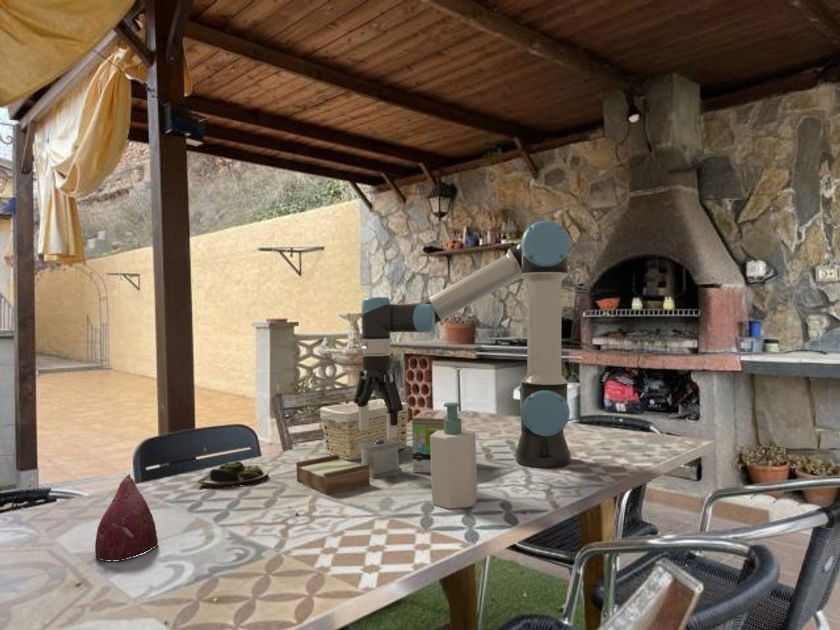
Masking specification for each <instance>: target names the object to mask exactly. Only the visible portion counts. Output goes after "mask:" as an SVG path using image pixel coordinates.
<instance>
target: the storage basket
mask: <svg viewBox="0 0 840 630" xmlns="http://www.w3.org/2000/svg"><path fill="white" fill-rule="evenodd" d="M401 403H402V406H403V410H402V411H399V412H398V419H397V420H398V424H397V437H395V438H389V439H391V440H395V441H399V442H401V446H400V447H398V450H401V449H406V448H407V440H408V439H407V438H408V437H407V435H408V434H407V432H408V425H407V424H408V416H409V415H408V414H409V413H408V411H409V405H408V403H407V402H403V401H401ZM368 404H369V405H368ZM368 404H367V406H369V430H364V431H359V407H358V405H357V403H354V402H352V403H351V402H350V403H343V404H336V405H328V406H322V407H319V408H320V409H319V413H320V419H321V423H322V427H323V429H322V431H323V437H324V442H325V451H326V454H328V455H329V456H331V455H339V459H342V460H345V459H346V460H345V461H352V460H353V461H355V459H356V460H360V459H361V448H358V443H362V442H368V441H373V440H379V439H385V438H387V411H388V409H387V407H386V404H385V402H384V400H383V398H377V399H374V400H373V399H371V400H369V401H368ZM397 406H398V405H397ZM387 439H388V438H387Z"/></svg>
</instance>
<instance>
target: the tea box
mask: <svg viewBox="0 0 840 630" xmlns="http://www.w3.org/2000/svg"><path fill="white" fill-rule="evenodd" d="M444 419H447V409H445V410H444V409H423V410H421V411H420V412H419V413H416V415H415V416H413V417H412V419H411V420H412V430H411V431H412V432H411V433H412V440H411V441H412V472H413V473H423V474H424V473H426V474H428V473H429V474H431V446H430V436H431V435H432V434H433V433H434V432H436V431H437V430H444Z"/></svg>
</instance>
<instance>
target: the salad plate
mask: <svg viewBox="0 0 840 630" xmlns="http://www.w3.org/2000/svg"><path fill="white" fill-rule="evenodd" d="M268 476H269V474H268V471H267V470H266V468H265V467H264V466H263V465H258V464H257V465H253V464H252V465H244V464H243V463H242V461H239V460H237V461H234V462H233V463H232V461H228V463H226V462H225V463H224V464H221V465H220V467H218V468H217V469H215V468H213V469H211V470H209V471H206V472H204V473H203V474H202V475H201V478H199V480H197V481H196V483H197V484H199V485H202V486H205V487H206V488H209V487H211V488H210V489H225V488H224V487H228V488H233V487H232V486H237V487H241V486H240V485H245V486H249V485H248V484H251V485H255V484H254V483H256V484H258V482H259V483H261V481H262V482H263V480H264V481H265V480H266V479H267V478H268Z"/></svg>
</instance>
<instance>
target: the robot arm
mask: <svg viewBox="0 0 840 630" xmlns="http://www.w3.org/2000/svg"><path fill="white" fill-rule="evenodd" d="M570 241H571V240H570V236H569V234H568V232H567V231H566V229H565V228H564V227H563V226H562V225H561V224H560V223H557V222H555V221H552V220H541V221H537V222H535V223H533V224H531V225H530V226H529V227H527V228H526V229H525V231H524V232H523V235H522V237H521V240H520V241H518V242H517V243H516V244H515V245H513V246H512V247H510V248H508V249H507V252H506V254H504V255H502V256H501V257H499V258H497V259H496V260H494V261H492V262H490V263H488V264H487V265H485V266H483V267H482V268H479V269H478V270H477V271H474V272H472V273H471V274H468V276H466V277H464V278H462V279H460V280H458V281H456V282H455V283H453V284H451V285H449V286H447V287H446V288H444V289H442V290H441V291H438V292H437V293H435V294H433V295H431V296H429V297H428V298H425V299H424V300H422V301H420V302H418V303H404V304H403V303H402V304H396V303H395V304H393V303H391V301H390V298H389V297H388V296H385V297H384V296H382V297H381V296H379V297H378V296H377V297H376V296H375V297H374V296H371V297H365V298H363V300H362V302H361V303H362V306H361V325H362V327H361V329H362V334H361V336H362V339H361V340H362V343H361V346H362V353H363V354H364V355H363V356H362V369H363V370H361V371H359V377H358V378H359V380H358V383H357V386H356V390H355V395H354V397H353V399H354V400H353V403H357V405H358V407H359V431H364V430H369V406H367V404H368V401H370V399H371V397H372V395H373V393H374V391H377V392H379V393H380V396H381V397H382V398H381V399H383V400H384V402H385V404H386V407H387V409H388V411H387V438H388V439H389V438H395V437H397V424H398V420H397V419H398V412H399V411H402V410H403V406H402V403H401V402H402V400H401V396H400V394H399V393H400V392H399V390H398V387H397V382H396V375H395V373H390V374H389V373H388V370H390V369H391V367H392V366H391V363H392V362H391V359H392V358H391V355H389V354H391V352H392V350H391V348H392V347H391V346H392V345H391V333H419V334H420V333H421V334H422V333H429V332H434V331H433V330H435V327H436V324H438V323H440V322H442V321H443V320H445V319H447V318H449V317H450V316H452V315H454V314H456V313H458V312H460V311H461V310H463V309H465V308H467V307H469V306H471V305H473V304H474V303H476V302H478V301H480V300H482V299H484V298H485V297H488V296H489V295H491V294H493V293H494V292H497V291H498V290H500V289H502V288H503V287H505V286H507V285H510V284H511V283H513V282H515V281H517V280H519V279H523V280H526V281H527V326H526V327H527V330H526V331H527V337H526V338H527V349H526V350H527V353H526V354H527V355H526V356H527V358H526V359H527V367H526V368H527V369H526V371H527V372H526V373H527V374H526V375H525V376H524V377H523V378H522V379H521V381H520V383H519V388H518V392H519V400H520V401H519V404H520V405H519V406H520V407H519V408H520V409H519V410H520V428H521V429H520V438H519V440H518V445H517V449H516V451H515V462H516V463H518V464H520V465H522V466H526V467H533V468H557V467H563V466H568V465H569V464H571V462H572V455H571V452H570V450H569V446H568V444H567V443H568V442H567V440H566V437H565V433H564V432H565V431H564V429H565V427H566V426H567V424H568V422H569V419H570V411H571V410H570V408H569V407H570V405H569V404H568V380H567V379H566V378H565V377H564V376H563V375H562V301H563V300H562V288H563V287H562V282H563V281H564V279H565V278H566V277H567V276H568V274H569V272H568V269H569V268H568V267H569V266H568V264H569V263H568V262H569V256H568V255H569V252H570V249H571V242H570ZM368 405H369V404H368ZM397 405H398V406H397Z"/></svg>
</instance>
